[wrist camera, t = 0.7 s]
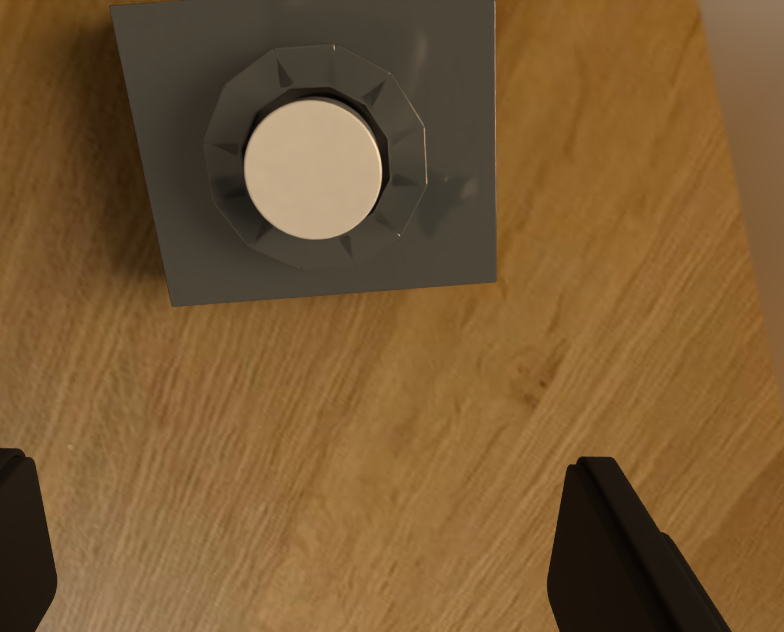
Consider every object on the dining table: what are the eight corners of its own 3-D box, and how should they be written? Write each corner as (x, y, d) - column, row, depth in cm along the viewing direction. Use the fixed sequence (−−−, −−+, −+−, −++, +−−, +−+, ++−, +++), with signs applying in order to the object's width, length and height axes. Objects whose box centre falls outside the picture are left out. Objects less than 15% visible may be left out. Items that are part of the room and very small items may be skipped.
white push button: (245, 101, 20) (232, 105, 18) (375, 91, 20) (377, 95, 18) (263, 228, 21) (254, 245, 19) (384, 219, 21) (387, 235, 19)
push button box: (141, 12, 23) (84, 0, 18) (478, -11, 23) (507, -29, 18) (192, 279, 26) (157, 326, 22) (482, 257, 27) (507, 299, 22)
